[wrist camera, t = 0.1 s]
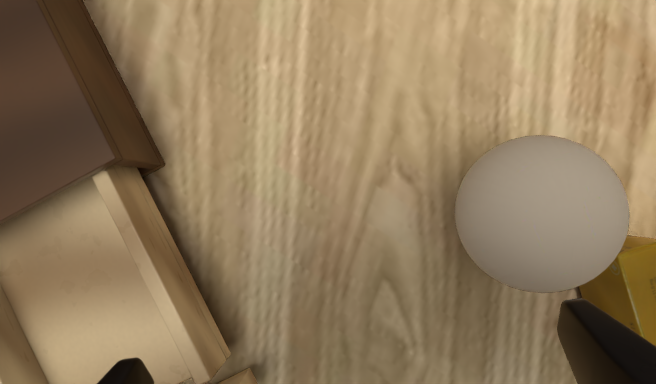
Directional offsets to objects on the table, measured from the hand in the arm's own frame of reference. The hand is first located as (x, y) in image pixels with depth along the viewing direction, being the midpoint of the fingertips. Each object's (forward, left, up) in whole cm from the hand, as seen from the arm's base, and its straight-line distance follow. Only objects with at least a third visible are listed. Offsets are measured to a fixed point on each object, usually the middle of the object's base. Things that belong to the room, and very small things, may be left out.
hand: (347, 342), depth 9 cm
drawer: (+4, +13, -14) cm, 19 cm away
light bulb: (-2, -7, -15) cm, 17 cm away
